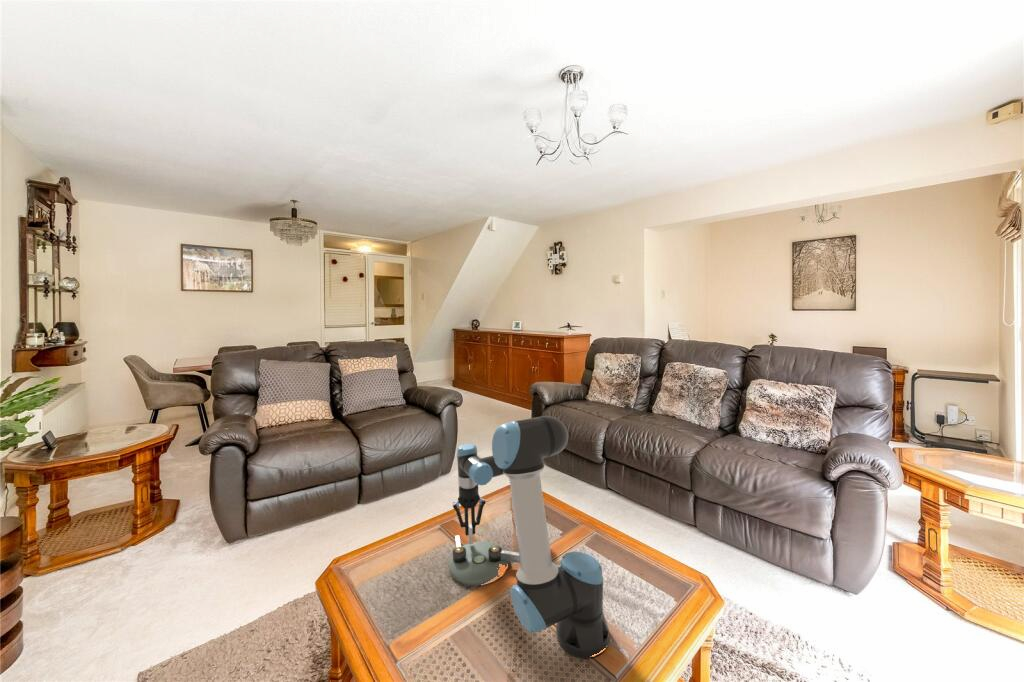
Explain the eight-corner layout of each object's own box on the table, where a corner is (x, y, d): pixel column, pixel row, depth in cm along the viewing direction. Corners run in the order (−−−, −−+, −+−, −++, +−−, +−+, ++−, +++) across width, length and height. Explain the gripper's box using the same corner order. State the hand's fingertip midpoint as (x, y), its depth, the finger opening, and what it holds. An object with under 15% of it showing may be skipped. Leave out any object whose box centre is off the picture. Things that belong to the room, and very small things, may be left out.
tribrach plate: (514, 579, 136) (514, 573, 136) (451, 591, 131) (451, 585, 131) (502, 542, 157) (502, 536, 157) (447, 551, 152) (447, 545, 152)
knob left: (467, 561, 142) (466, 552, 142) (453, 563, 141) (452, 554, 141) (463, 541, 155) (463, 532, 154) (451, 543, 153) (450, 534, 153)
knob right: (486, 560, 142) (486, 551, 142) (491, 552, 147) (490, 543, 147) (519, 566, 139) (519, 557, 139) (523, 557, 144) (522, 548, 143)
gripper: (483, 478, 155) (485, 533, 157) (450, 482, 152) (453, 538, 154) (486, 486, 147) (488, 545, 150) (451, 491, 145) (454, 550, 147)
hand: (470, 541), depth 152 cm, fingers closed
